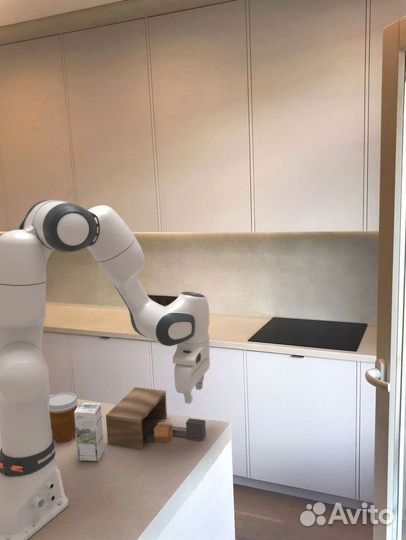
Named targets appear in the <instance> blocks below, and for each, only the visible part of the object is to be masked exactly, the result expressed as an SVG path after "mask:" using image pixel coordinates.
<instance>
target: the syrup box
mask: <svg viewBox="0 0 406 540" xmlns="http://www.w3.org/2000/svg"><path fill="white" fill-rule="evenodd" d="M74 417H75V427H76V436H75V438H76V447H77V460H78V462H99V461H100V460H101V457H102V455H103V454H104V452H105V446H104V445H105V443H104V431H103V416H102V405H101V403H97V402H81V403H79V404H78V405H77V409H76V410H75V412H74Z"/></svg>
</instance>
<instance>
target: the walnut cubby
mask: <svg viewBox="0 0 406 540" xmlns="http://www.w3.org/2000/svg"><path fill="white" fill-rule="evenodd" d="M167 414H168V413H167V391H166V390H161V389H153V388H145V387H144V388H143V387H134V388H133V389H132V390H130V391H129V392H128V393H127V394H126V395H125V396H124V397H123V398H122V399H121V400H120V401H119V402H118V403H117V404H115V406H114V407H113V408H112V409H111V410H109V411H108V412H107V413H106V414H105V421H106V423H105V424H106V434H107V435H106V437H107V445H108V446H109V445H110V446H115V447H124V448H129V449H136V450H143V449H144V440H143V439H144V438H143V421H144V420H145V418H146V417H147V418H154V419H155V418H156V419H162V420H163V419H165V420H167V418H168V415H167Z"/></svg>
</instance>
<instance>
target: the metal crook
mask: <svg viewBox="0 0 406 540" xmlns="http://www.w3.org/2000/svg"><path fill="white" fill-rule="evenodd" d="M157 424H158V423H153V425H152V426H151V427H150V429H149V430H148V431H147V432H146V433H145V436H146V439H145V440H146V443H151V444H154V442H156V441H155V439H154V428H155V427H156V425H157ZM206 432H207V430H206V420H205V419H198V418H190V417H188V419H187V420H186V422H185V427H182V426H174V425H172V434H173V436H172V437H177V438H178V437H179V438H185V439H188V440H189V439H190V440H194V441H195V440H196V441H202V442H203V441H204V440H205V438H206V437H207V435H206V434H207V433H206Z"/></svg>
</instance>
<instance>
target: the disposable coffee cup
mask: <svg viewBox="0 0 406 540" xmlns="http://www.w3.org/2000/svg"><path fill="white" fill-rule="evenodd" d="M78 403H79V398H78V397H77V395H76V394H75V393H73V392H60V393H58V392H57V393H55V394H53V395H49V411H50V422H51V432H52V437H53V438H54V442H56V443H66V442H69V441H72V440H73V439H74V438H76V427H75V417H74V412H75V410H76V409H77V407H78V406H79V404H78Z"/></svg>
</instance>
